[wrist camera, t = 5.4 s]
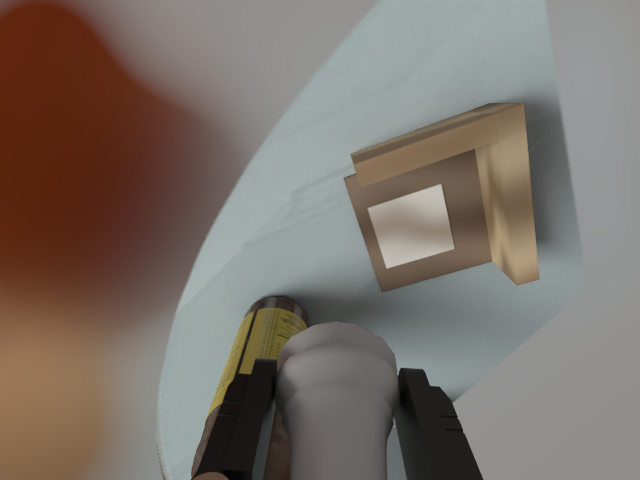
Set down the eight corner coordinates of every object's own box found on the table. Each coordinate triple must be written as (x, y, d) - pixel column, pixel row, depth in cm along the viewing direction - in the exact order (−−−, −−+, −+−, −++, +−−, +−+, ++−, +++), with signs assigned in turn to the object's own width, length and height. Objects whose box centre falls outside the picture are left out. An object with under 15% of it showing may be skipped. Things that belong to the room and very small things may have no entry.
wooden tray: (508, 253, 25) (539, 279, 21) (381, 289, 27) (389, 319, 23) (489, 103, 21) (523, 104, 17) (337, 158, 22) (338, 170, 19)
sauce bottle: (263, 353, 30) (166, 725, 12) (233, 304, 28) (57, 676, 10) (323, 335, 29) (313, 717, 11) (296, 283, 27) (228, 659, 9)
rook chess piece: (416, 337, 11) (585, 792, 4) (363, 414, 13) (408, 827, 5) (301, 297, 10) (235, 737, 3) (262, 383, 12) (161, 795, 5)
